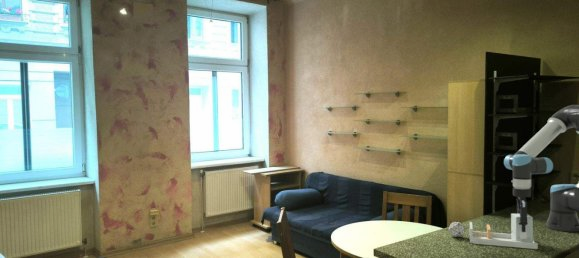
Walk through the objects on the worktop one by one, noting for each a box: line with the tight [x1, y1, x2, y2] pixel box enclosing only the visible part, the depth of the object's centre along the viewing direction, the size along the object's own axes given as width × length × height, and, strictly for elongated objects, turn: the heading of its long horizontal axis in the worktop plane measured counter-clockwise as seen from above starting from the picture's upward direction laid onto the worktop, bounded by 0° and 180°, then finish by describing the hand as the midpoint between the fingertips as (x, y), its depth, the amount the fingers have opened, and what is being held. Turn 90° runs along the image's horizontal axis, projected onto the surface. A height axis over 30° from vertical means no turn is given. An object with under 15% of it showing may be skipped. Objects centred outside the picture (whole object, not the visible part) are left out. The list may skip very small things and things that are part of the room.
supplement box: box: [510, 213, 534, 243], centre depth 198 cm, size 7×7×13 cm
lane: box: [469, 221, 539, 250], centre depth 201 cm, size 28×13×7 cm, turn 68°
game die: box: [446, 220, 468, 239], centre depth 210 cm, size 9×8×10 cm
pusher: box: [486, 224, 492, 239], centre depth 203 cm, size 1×10×6 cm, turn 158°
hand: (522, 235), depth 198 cm, fingers closed on supplement box, 8 cm apart
